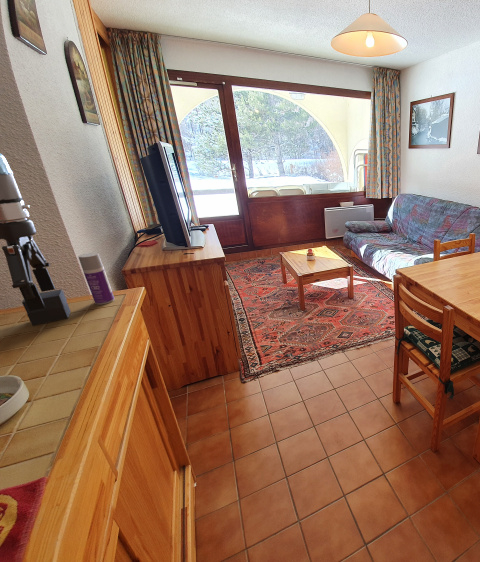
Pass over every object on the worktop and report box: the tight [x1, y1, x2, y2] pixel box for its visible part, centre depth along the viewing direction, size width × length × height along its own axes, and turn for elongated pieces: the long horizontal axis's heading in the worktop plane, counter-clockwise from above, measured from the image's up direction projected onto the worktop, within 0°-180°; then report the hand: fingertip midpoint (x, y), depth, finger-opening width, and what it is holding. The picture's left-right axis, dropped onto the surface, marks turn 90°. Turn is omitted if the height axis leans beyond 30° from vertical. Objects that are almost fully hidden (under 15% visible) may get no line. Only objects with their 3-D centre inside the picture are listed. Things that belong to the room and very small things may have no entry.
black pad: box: [26, 300, 71, 327], centre depth 84 cm, size 7×5×4 cm
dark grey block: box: [21, 288, 68, 315], centre depth 83 cm, size 7×5×4 cm
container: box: [77, 252, 116, 306], centre depth 92 cm, size 5×5×15 cm
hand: (43, 299), depth 83 cm, fingers open, 13 cm apart
